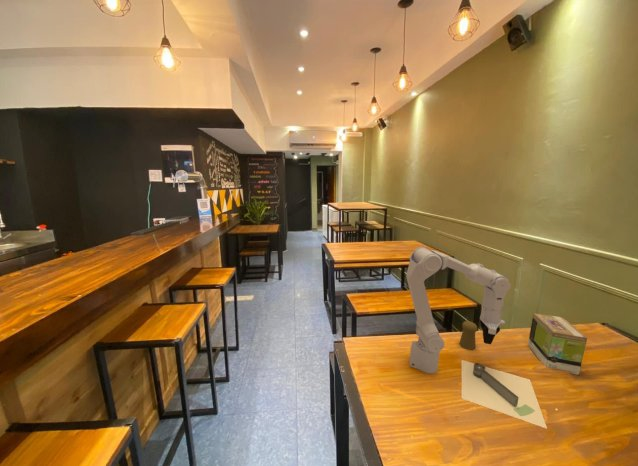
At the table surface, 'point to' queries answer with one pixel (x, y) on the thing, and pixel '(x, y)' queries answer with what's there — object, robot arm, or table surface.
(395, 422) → the table surface
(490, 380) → the pointer
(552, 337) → the tea box
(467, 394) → the dial board
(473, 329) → the cork
